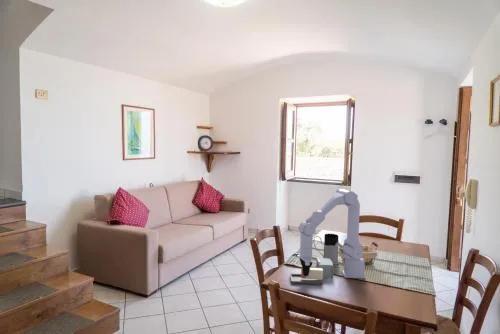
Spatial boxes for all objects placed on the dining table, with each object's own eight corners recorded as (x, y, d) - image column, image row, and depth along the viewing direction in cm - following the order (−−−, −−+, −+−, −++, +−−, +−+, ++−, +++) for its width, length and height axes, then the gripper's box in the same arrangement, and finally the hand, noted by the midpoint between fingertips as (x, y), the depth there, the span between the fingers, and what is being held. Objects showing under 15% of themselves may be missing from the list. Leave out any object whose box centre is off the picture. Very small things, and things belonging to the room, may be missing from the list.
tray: (318, 277, 158) (319, 274, 158) (321, 285, 149) (321, 282, 149) (290, 276, 159) (290, 273, 159) (291, 284, 150) (291, 281, 150)
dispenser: (329, 270, 167) (330, 257, 166) (333, 277, 158) (333, 264, 157) (316, 270, 167) (316, 256, 166) (318, 277, 158) (319, 263, 157)
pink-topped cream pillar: (321, 277, 155) (322, 268, 154) (322, 279, 152) (323, 270, 152) (301, 276, 155) (301, 267, 155) (301, 278, 153) (301, 269, 152)
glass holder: (338, 265, 174) (339, 238, 172) (311, 262, 178) (312, 235, 177) (339, 259, 182) (340, 234, 181) (313, 256, 186) (314, 231, 185)
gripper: (296, 241, 160) (296, 267, 161) (298, 251, 146) (298, 280, 147) (310, 242, 160) (310, 268, 161) (314, 252, 145) (313, 281, 146)
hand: (305, 274), depth 154 cm, fingers closed on pink-topped cream pillar, 2 cm apart
